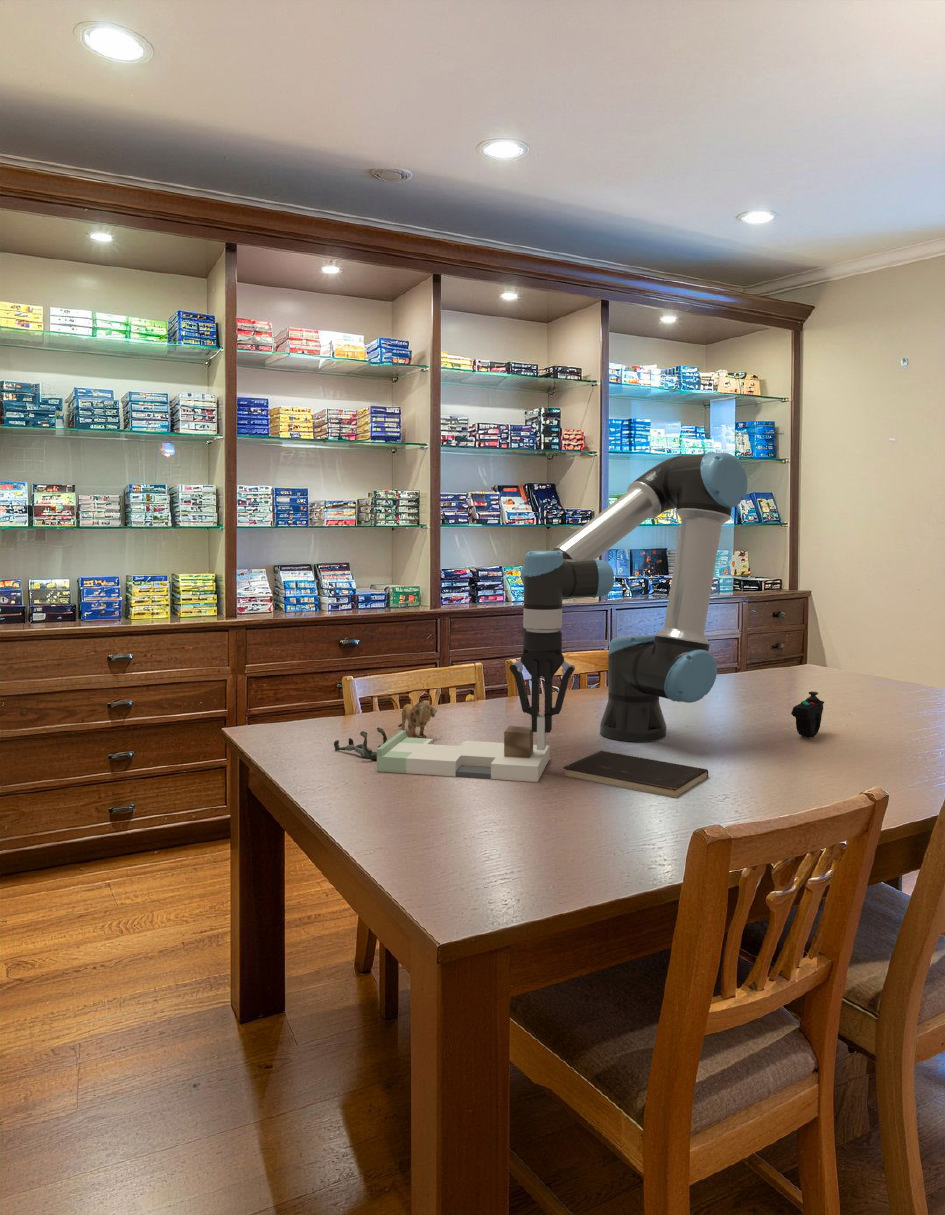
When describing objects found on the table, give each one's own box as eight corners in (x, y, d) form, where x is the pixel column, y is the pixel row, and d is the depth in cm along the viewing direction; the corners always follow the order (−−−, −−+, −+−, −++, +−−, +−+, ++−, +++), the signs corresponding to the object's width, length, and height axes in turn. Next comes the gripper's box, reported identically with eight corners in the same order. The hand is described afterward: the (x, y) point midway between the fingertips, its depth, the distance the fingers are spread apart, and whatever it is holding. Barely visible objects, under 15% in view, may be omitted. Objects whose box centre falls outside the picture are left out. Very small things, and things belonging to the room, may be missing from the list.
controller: (825, 733, 199) (826, 691, 199) (807, 744, 190) (809, 700, 189) (806, 731, 202) (807, 689, 201) (788, 741, 193) (789, 697, 192)
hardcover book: (674, 801, 152) (675, 788, 152) (562, 778, 166) (563, 767, 166) (708, 780, 165) (708, 768, 165) (602, 760, 179) (602, 749, 179)
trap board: (549, 759, 177) (549, 738, 177) (537, 782, 162) (537, 758, 161) (401, 750, 185) (401, 730, 184) (377, 771, 169) (376, 749, 169)
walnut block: (533, 751, 172) (533, 727, 172) (529, 758, 167) (529, 733, 167) (508, 750, 173) (508, 726, 173) (504, 756, 169) (504, 731, 168)
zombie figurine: (352, 717, 187) (395, 730, 176) (352, 748, 188) (394, 762, 177) (332, 720, 184) (374, 734, 173) (331, 752, 184) (373, 767, 173)
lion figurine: (439, 739, 194) (439, 700, 193) (419, 743, 191) (419, 703, 190) (407, 727, 206) (407, 690, 206) (388, 730, 203) (387, 693, 203)
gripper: (577, 628, 169) (576, 745, 171) (513, 626, 172) (512, 741, 174) (574, 633, 162) (572, 755, 164) (506, 631, 165) (505, 751, 167)
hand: (541, 748), depth 169 cm, fingers closed
